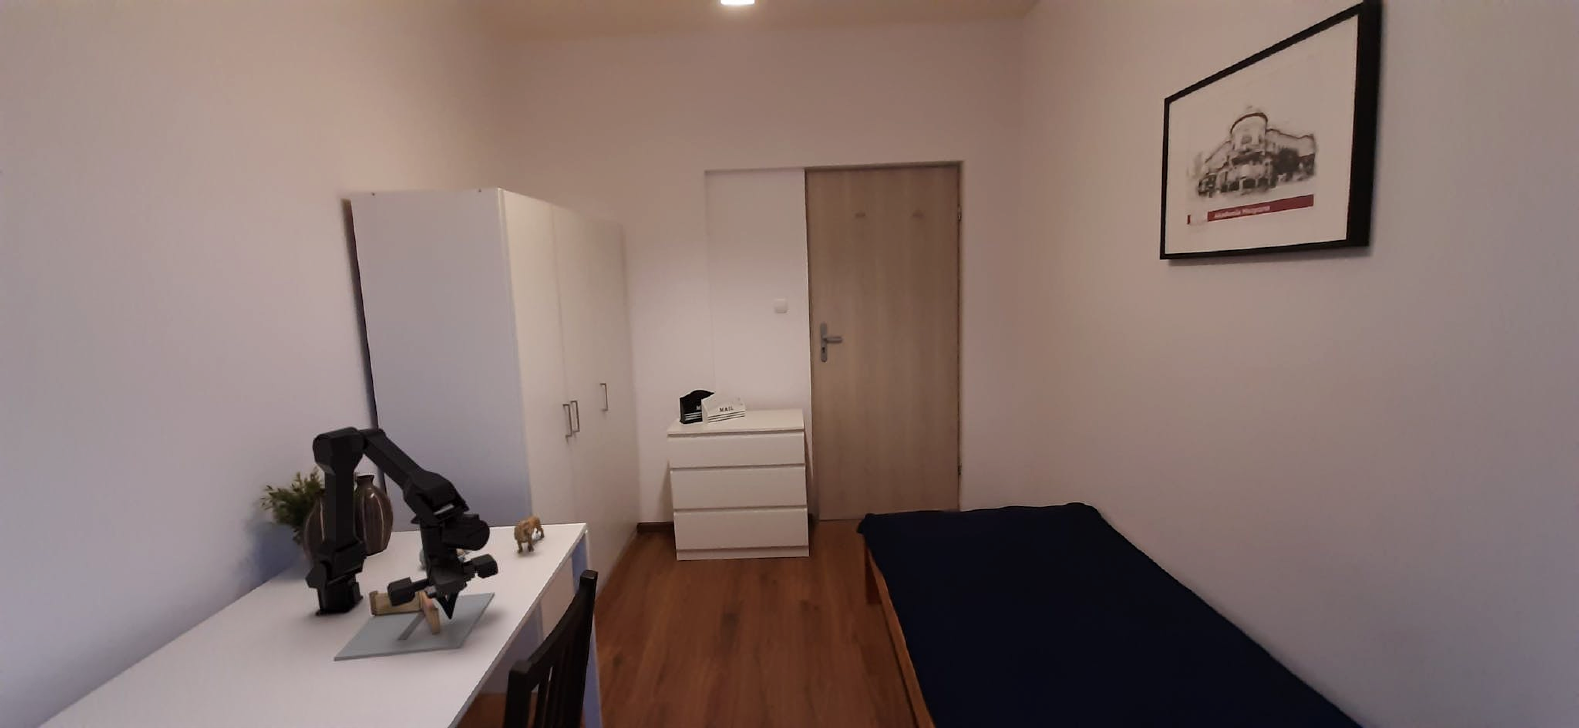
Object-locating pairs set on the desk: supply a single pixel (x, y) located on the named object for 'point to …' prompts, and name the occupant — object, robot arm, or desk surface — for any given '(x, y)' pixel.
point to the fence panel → (431, 613)
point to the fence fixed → (383, 605)
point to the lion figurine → (527, 532)
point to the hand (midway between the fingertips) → (449, 618)
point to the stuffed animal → (459, 551)
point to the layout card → (416, 630)
